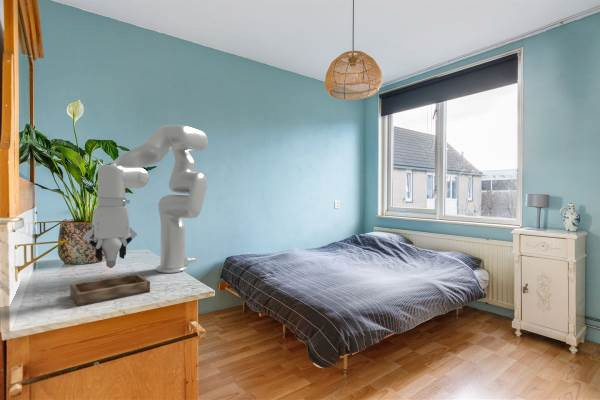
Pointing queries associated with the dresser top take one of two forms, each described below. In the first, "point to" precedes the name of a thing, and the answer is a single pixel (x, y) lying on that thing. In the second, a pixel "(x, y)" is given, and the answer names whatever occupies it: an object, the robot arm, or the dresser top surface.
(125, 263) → the dresser top surface
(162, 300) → the dresser top surface
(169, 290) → the dresser top surface
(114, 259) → the lightbulb
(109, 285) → the walnut tray
